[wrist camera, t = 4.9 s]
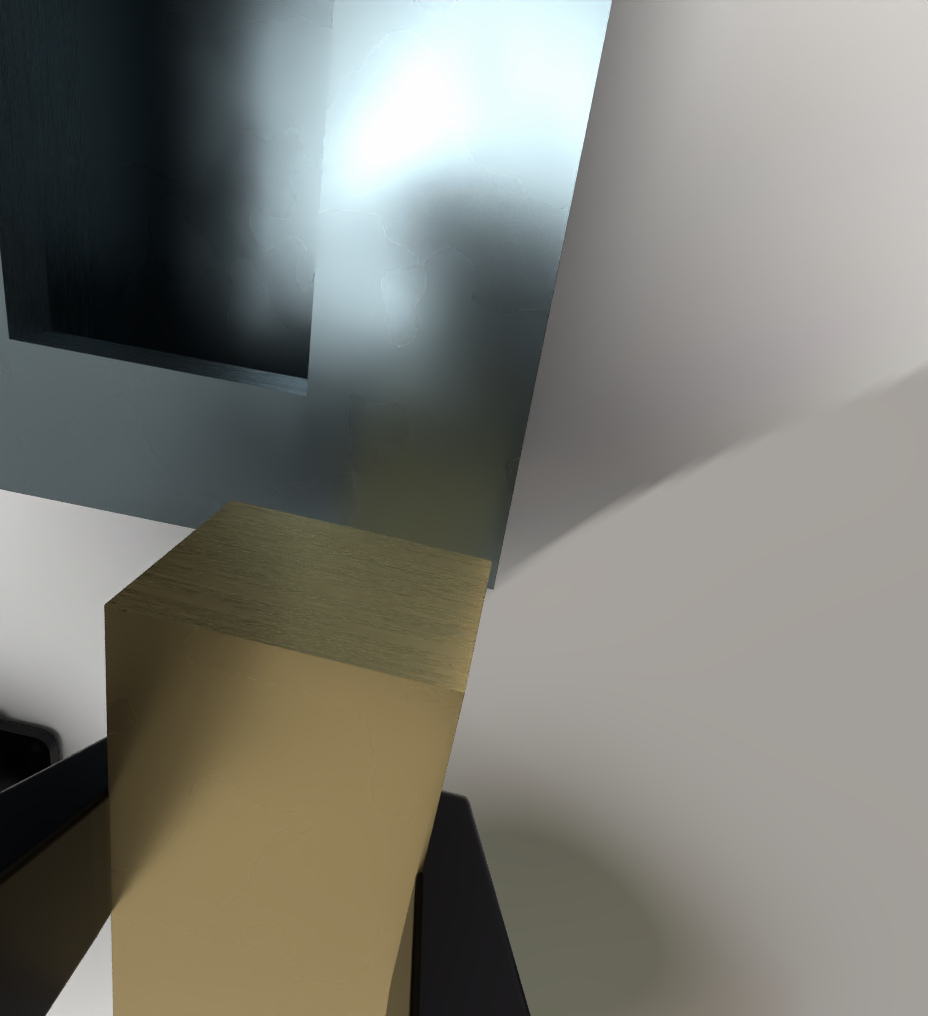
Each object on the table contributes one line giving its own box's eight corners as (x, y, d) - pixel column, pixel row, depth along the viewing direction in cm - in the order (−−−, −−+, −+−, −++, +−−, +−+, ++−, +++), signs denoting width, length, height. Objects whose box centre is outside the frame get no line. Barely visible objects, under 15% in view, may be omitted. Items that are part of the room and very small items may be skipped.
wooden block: (411, 902, 10) (368, 1092, 8) (210, 851, 11) (113, 1023, 8) (492, 560, 8) (464, 693, 6) (232, 499, 8) (103, 605, 6)
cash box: (516, 462, 18) (493, 589, 12) (86, 379, 19) (-158, 457, 12) (656, -243, 13) (758, -727, 6) (45, -324, 13) (-429, -836, 7)
